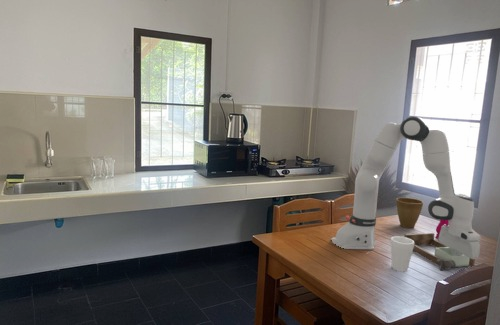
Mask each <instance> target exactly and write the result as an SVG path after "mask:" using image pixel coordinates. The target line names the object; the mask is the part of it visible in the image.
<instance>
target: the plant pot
mask: <svg viewBox="0 0 500 325" xmlns="http://www.w3.org/2000/svg"><path fill="white" fill-rule="evenodd" d="M423 206H424V201H423V200H420V199H417V198H411V197H396V210H397V216H398V220H399V224H400V227H403V228H407V229H413V228H414V227H415V226H416V224H417V222H418V220H419V217H420V215H421V212H422V209H423Z"/></svg>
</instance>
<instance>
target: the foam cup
mask: <svg viewBox="0 0 500 325" xmlns="http://www.w3.org/2000/svg"><path fill="white" fill-rule="evenodd" d="M413 248H414V241H413V240H412V239H409V238H406V237H404V236H391V238H390V252H391V257H390V258H391V268H392V269H393V270H394V271H396V270H397V272H400V271H403V272H402V273H404V272H407V271H408V269H409V265H410V261H411V258H412V255H413V252H414V251H413Z"/></svg>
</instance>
